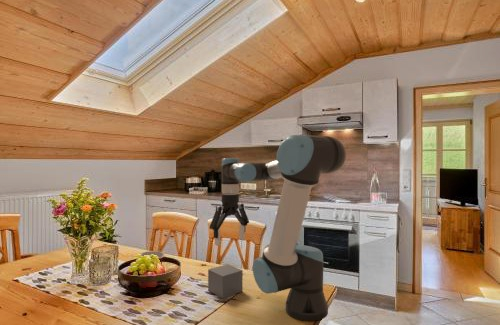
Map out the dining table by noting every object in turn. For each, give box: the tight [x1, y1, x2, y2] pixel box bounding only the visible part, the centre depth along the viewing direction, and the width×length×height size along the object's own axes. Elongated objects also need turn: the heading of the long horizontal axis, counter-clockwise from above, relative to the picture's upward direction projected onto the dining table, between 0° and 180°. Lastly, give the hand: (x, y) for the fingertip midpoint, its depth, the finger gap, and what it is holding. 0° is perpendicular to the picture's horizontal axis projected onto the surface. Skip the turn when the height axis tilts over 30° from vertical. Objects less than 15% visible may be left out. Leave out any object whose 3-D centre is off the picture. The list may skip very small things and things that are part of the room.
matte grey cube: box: [207, 263, 244, 299], centre depth 130 cm, size 10×10×9 cm
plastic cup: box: [139, 250, 166, 265], centre depth 141 cm, size 11×11×12 cm
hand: (230, 242), depth 135 cm, fingers open, 13 cm apart
